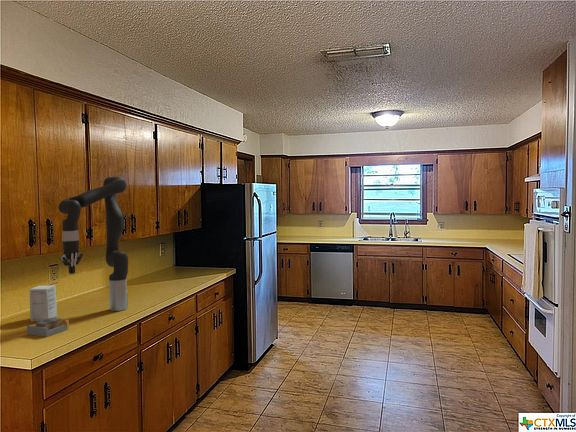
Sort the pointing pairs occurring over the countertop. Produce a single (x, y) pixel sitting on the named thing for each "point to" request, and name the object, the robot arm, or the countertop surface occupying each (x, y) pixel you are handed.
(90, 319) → the countertop surface
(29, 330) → the bay
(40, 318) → the supplement box
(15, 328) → the countertop surface
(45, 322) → the grey block
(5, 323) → the countertop surface
